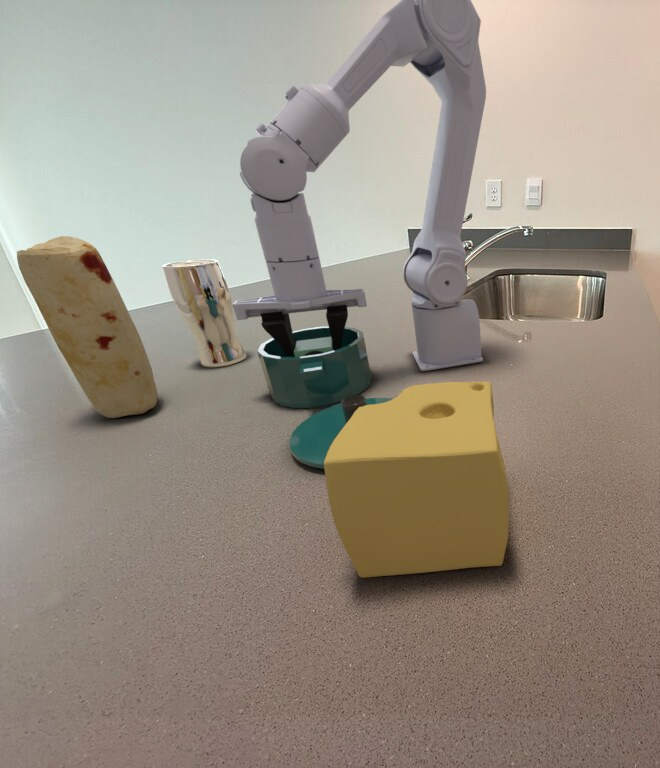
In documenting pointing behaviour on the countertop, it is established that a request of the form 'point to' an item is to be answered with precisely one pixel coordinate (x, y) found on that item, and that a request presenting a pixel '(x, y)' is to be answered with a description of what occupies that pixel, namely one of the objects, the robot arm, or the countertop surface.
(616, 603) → the countertop surface
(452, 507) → the cheese
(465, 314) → the robot arm
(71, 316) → the food model
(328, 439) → the lid
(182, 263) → the beer glass
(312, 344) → the green speaker box
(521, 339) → the countertop surface
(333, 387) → the pot
